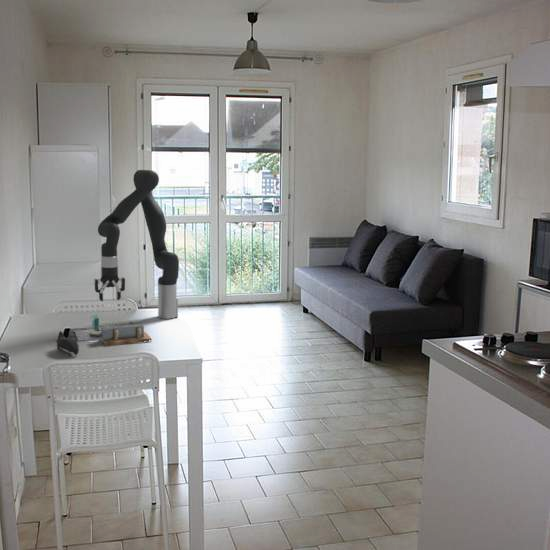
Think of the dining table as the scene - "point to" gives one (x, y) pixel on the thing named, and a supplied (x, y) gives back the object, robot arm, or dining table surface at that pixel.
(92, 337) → the gray base plate
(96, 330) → the teal handled round piece
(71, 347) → the figurine
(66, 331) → the dining table surface
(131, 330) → the bar
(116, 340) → the peg rack
